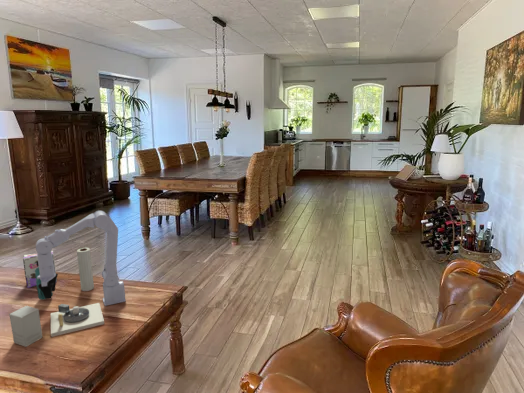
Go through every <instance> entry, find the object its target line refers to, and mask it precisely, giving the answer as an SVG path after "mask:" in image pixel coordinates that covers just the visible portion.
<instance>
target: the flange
mask: <svg viewBox="0 0 524 393" xmlns="http://www.w3.org/2000/svg"><path fill="white" fill-rule="evenodd" d="M57 308H58V310H57V311H58V312H61V313H65V314H64V321H66V322H69V323H73V322H79V321H82V320H84V319H86V318H87V317H88V316H89V310H88V309H86V308H79V314H77V315H74V314H73V310H70V309H71V308H70V305H69V304H65V303H60V304H59V305H58V306H57Z"/></svg>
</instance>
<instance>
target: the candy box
mask: <svg viewBox="0 0 524 393" xmlns="http://www.w3.org/2000/svg"><path fill="white" fill-rule="evenodd" d="M51 253H52V255H53V262H54V270H55V274H57V272H56V264H55V255H54V254H55V253H54V250H51ZM37 257H38V255H37V252H36V253H30V254H29V253H28V254H23V257H22V261H23V270H24V275H25V276H24V277H25V284H26V288H27V289H28V288H29V289H30V288H34V287H37V284H36V275H35V270H36V269H37V268H38V267H39V266H37V261H38V258H37ZM57 280H58V279H56V284H57V282H58V281H57Z"/></svg>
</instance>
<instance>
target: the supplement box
mask: <svg viewBox="0 0 524 393" xmlns="http://www.w3.org/2000/svg"><path fill="white" fill-rule="evenodd" d="M40 318H41V317H40V310H39V308H35V307H32V306H28V305H25V306H23V307H20V308H18V309H17V310H15V311H13V312H11V313H9V322H10V327H11V332H12V333H11V334H12V339H13V344H16V345H19V346H22V347H25V348H26V347H28V346H30V345H32V344H33V343H36V342H37V341H39V340H41V339H42V338H43V331H42V325H41V319H40Z"/></svg>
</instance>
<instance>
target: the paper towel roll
mask: <svg viewBox="0 0 524 393" xmlns="http://www.w3.org/2000/svg"><path fill="white" fill-rule="evenodd" d="M76 254H77V255H76V258H77V265H78V272H79V273H78V274H79V282H80V290H81V291H82V292H88V291H89V292H90V291H91V290H94V288H95V286H94V283H95V282H94V274H93V266H92V254H91V248H90V247H87V246H84V247H82V248H79V249H77V250H76Z"/></svg>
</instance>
